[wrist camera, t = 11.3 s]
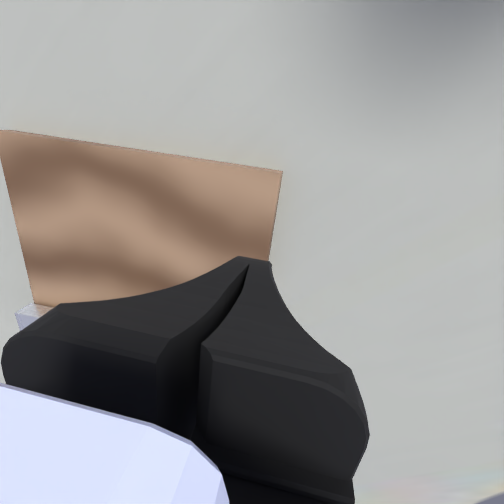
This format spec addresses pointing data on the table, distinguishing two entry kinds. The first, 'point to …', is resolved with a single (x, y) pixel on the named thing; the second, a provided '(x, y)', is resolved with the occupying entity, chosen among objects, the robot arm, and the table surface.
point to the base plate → (129, 216)
